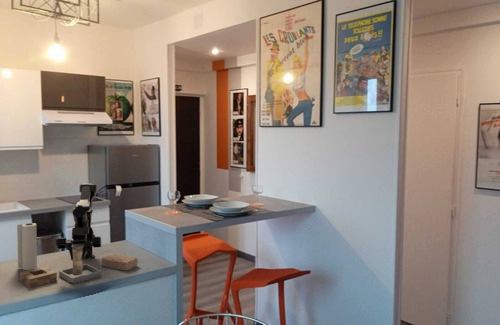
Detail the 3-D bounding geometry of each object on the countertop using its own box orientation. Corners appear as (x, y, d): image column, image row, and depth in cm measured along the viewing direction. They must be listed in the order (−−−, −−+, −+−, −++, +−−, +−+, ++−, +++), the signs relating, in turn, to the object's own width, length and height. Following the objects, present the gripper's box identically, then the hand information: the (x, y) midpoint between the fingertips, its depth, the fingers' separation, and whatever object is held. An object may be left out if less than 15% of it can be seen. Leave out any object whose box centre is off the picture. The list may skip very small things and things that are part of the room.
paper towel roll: (39, 267, 192) (39, 223, 191) (28, 271, 187) (27, 226, 185) (29, 265, 195) (29, 221, 194) (17, 268, 190) (17, 224, 188)
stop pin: (69, 275, 178) (69, 246, 177) (76, 271, 183) (76, 243, 182) (79, 276, 177) (79, 247, 176) (85, 272, 182) (85, 244, 181)
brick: (100, 266, 198) (100, 256, 198) (112, 261, 206) (112, 252, 206) (126, 272, 192) (127, 262, 191) (138, 266, 200) (138, 257, 199)
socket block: (19, 280, 177) (19, 272, 176) (45, 273, 185) (45, 266, 185) (30, 287, 170) (30, 279, 169) (56, 280, 178) (56, 272, 178)
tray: (59, 276, 183) (59, 270, 183) (86, 269, 193) (86, 263, 193) (73, 284, 174) (73, 278, 174) (101, 276, 184) (101, 271, 184)
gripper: (56, 220, 179) (51, 252, 170) (100, 219, 184) (98, 250, 174) (60, 232, 188) (55, 264, 178) (102, 231, 192) (100, 261, 183)
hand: (77, 259), depth 178 cm, fingers closed on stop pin, 4 cm apart
